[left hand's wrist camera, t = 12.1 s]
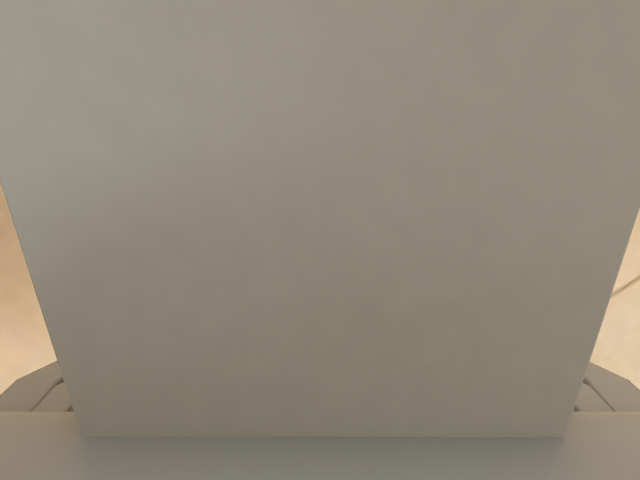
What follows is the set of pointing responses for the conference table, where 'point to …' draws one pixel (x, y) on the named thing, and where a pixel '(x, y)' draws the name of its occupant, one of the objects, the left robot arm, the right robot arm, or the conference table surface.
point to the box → (322, 208)
